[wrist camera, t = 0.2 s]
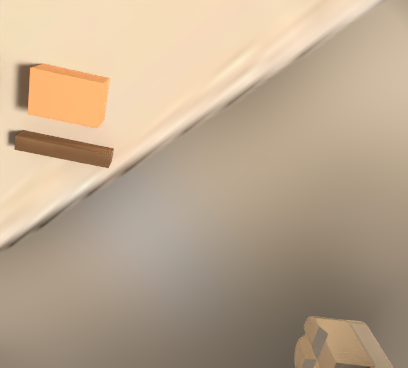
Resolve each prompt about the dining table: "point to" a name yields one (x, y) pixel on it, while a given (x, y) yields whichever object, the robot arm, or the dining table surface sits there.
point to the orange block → (67, 95)
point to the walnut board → (63, 148)
